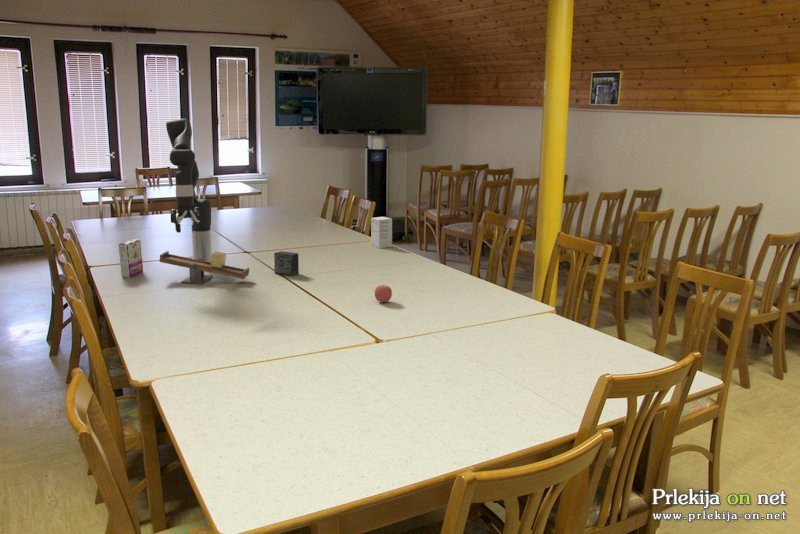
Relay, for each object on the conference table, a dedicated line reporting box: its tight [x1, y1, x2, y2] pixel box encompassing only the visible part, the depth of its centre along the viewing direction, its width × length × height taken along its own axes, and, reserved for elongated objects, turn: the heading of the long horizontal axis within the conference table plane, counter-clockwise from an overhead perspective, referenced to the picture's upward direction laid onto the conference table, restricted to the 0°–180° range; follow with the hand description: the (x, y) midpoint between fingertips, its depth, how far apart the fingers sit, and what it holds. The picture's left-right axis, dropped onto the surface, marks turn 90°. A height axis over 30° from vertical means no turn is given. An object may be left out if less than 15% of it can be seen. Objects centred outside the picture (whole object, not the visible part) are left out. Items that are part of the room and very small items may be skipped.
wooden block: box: [211, 251, 227, 269], centre depth 316 cm, size 5×5×7 cm
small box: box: [273, 250, 300, 277], centre depth 333 cm, size 11×6×10 cm, turn 65°
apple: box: [374, 284, 393, 303], centre depth 290 cm, size 7×7×8 cm
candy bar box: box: [118, 238, 144, 278], centre depth 324 cm, size 11×5×16 cm, turn 168°
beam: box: [159, 250, 250, 280], centre depth 317 cm, size 8×40×4 cm, turn 85°
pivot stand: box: [180, 259, 214, 286], centre depth 318 cm, size 14×10×9 cm
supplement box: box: [370, 216, 393, 249], centre depth 399 cm, size 10×9×17 cm
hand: (186, 231), depth 305 cm, fingers open, 8 cm apart
